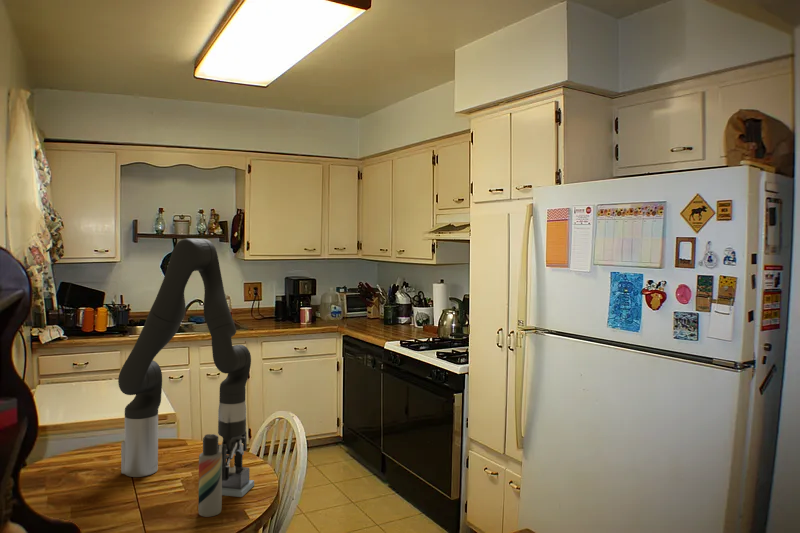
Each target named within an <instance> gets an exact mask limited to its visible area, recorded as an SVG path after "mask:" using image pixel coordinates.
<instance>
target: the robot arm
mask: <svg viewBox="0 0 800 533" xmlns="http://www.w3.org/2000/svg"><path fill="white" fill-rule="evenodd" d="M193 272H198V273H199V276H200V277H201V279H202V282H203V287H204V288H203V289H204V295H203V296H204V297H203V298H204V299H203V316H204V319H205V323H206V326H207V329H208V331H209V334H210V336H211V338H210V339H211V351H212V353H211V354H212V359H213V360H212V361H213V362H214V363H213V364H214V365H215V367H216V369H217V370H218V371H219V372H220V373H223V374H227V376H226V378H225V379H224V380H222V381H221V383H220V385H219V403H218V410H217V412H218V413H217V414H218V416H217V418H218V419H217V420H218V421H217V423H218V424H217V435H218V436H220V437H222V443H221V444H218V451H219V452H221V453H222V480H224V481H227V480H228V479H229V467H228V466H230V461H232V460H233V461H234V466H236V467H243V459H244V458H243V456H244V455H245V452H247V449H248V448H247V446H248V443H247V441H248V440H247V438H248V437H247V434H248V433H247V404H246V391H247V390H246V385H247V382H248V379H249V374H250V370H251V365H252V356H251V352H250V350H249V349H248V347H247V346H245V345H244V344H234V345H233V342H232V337H234V336H235V335H236V333H237V327H236V324H235V322H234V319H233V316H232V312H231V310H230V308H229V307H230V306H229V304H228V301H227V300H228V299H227V297H226V293H225V289H224V283H223V278H222V273H221V266H220V260H219V256H218V252H217V249H216V246H215V244H214V243H213V241H211V240H209V239H206V238H192V237H191V238H183V239H181V240H178V241H177V243H176V244H175V246H174V248H173V249H172V251H171V255H170V258H169V262H168V263H167V269H166V271H165V274H164V277H163V280H162V283H161V285H160V286H159V289H158V293H157V294H156V298H155V300H154V301H153V304H152V306H151V308H150V310H149V313H148V314H147V317H146V318H145V319H146V320H145V323H144V325H143V327H142V329H141V331H140V333H139V336H138V337H137V340H136V342H135V344H134V346H133V348H132V350H131V351H130V353H129V355H128V356H127V357H126V358H127V359H126V360H125V362H124V363H123V365H122V367H121V369H120V371H119V375H118V379H117V382H118V384H117V385H118V387H119V390H120V391H121V392H122V394H124V395H126V396H134V395H135V396H134V398H133V399H132V400H131V401H130V402H129V403H128V404H127V405H126V406H125V408H124V440H122V442H121V445H120V446H121V449H120V452H121V454H120V455H121V459H120V460H121V461H120V462H121V464H120V465H121V468H120V469H121V474H122V475H125V476H127V477H133V478H140V477H146V476H150V475H152V474H154V473H155V474H156V472H158V469H159V466H158V465H159V461H158V460H159V408H160V405H161V403H162V392H163V390H162V387H163V372H162V368H161V366H160V365H159V363H158V362H157V361H155V360H154V359H155V357H156V356H157V355H158V354H159V353H160V351H162V350H163V349H164V348H165V347H166V345H168V344H169V343H170V342H171V340H172V339H173V338H174V336H176V334H177V333H178V330H179V329H180V326H181V324H182V323H183V320H184V318H185V314H186V299H185V290H186V287H187V284H188V282H189V280H190V277H191V276H192V274H193ZM233 458H234V459H233Z"/></svg>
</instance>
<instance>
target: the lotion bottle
mask: <svg viewBox="0 0 800 533" xmlns="http://www.w3.org/2000/svg"><path fill="white" fill-rule="evenodd" d="M218 445H219V435H218V434H215V433H213V434H212V433H211V434H210V433H209V434H205V435H204V436H203V438H202V452H201V453H199V455H198V502H197V504H198V506H197V507H198V510H197V511H198V515H199V516H201V517H205V518H209V517H214V516H218V515H219V514H221V512H222V502H223V501H222V500H223V495H222V453H221V452H219V451H218Z"/></svg>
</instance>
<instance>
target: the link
mask: <svg viewBox="0 0 800 533" xmlns="http://www.w3.org/2000/svg"><path fill="white" fill-rule="evenodd" d="M249 480H250V467H245V466H242V467H236V466H235V473H230V472H229V479H228V480H227V481H224V480H222V488H230V489H242V488H243V487H244V486H245V485H246V484H247V483H248V482H249Z"/></svg>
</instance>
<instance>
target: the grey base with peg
mask: <svg viewBox="0 0 800 533" xmlns="http://www.w3.org/2000/svg"><path fill="white" fill-rule="evenodd" d="M228 467H229V472H230V473H235V466H234V460H230V463H229V466H228ZM254 486H255V480H254V479H249V482H248V483H247V484H246V485H245V486H244V487H243V488H242V489H230V488H222V496H227V497H229V496H230V497H237V498H243V497H244V496H245V495H246V494H247V493H248V492H249V491H250V490H251V489H252V488H253V487H254Z"/></svg>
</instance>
